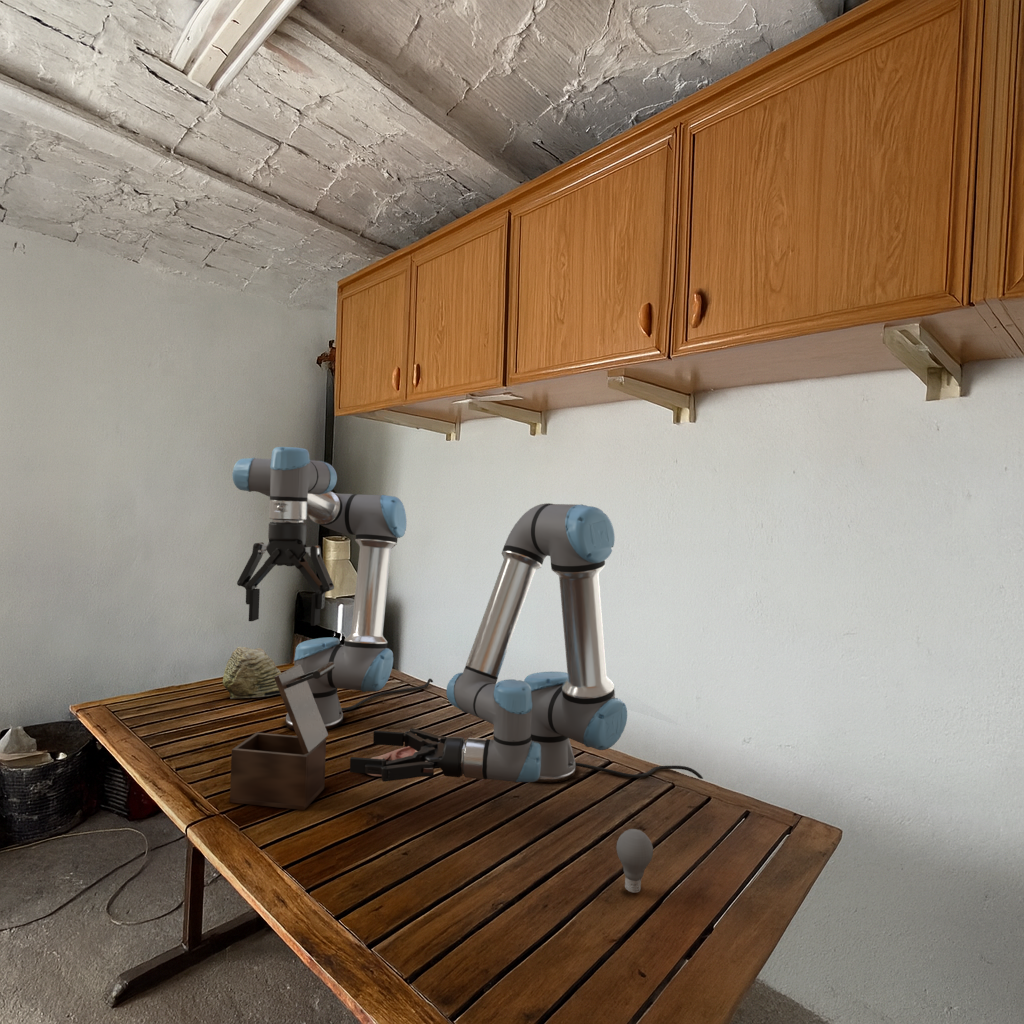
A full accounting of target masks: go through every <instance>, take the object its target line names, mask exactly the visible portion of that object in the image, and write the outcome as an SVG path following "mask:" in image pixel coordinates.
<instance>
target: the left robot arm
mask: <svg viewBox="0 0 1024 1024" xmlns="http://www.w3.org/2000/svg"><path fill="white" fill-rule="evenodd" d="M270 457H271V458H261V457H260V458H259V457H257V458H256V457H249V458H247V457H246V458H240V459H238V460H237V461H236V462H235V464H234V466H233V468H232V475H231V476H232V477H231V478H232V481H233V484H234V486H235V487H236V488H237V489H238V490H240V491H245V492H249V493H251V492H256V493H259V494H262V495H265V496H267V497H268V498H269V510H268V519H270V520H271V521H270V522H268V533H267V534H268V535H267V537H268V542H267V543H265V542H255V543H253V545H252V552H251V555H250V557H249V559H248V560H247V562H246V564H245V566H244V568H243V570H242V572H241V574H240V576H239V578H238V580H237V582H236V585H237V586H238V587H242V588H244V589H245V605H248V622H255V621H257V620H259V619H260V595H261V594H260V592H261V590H260V589H261V588H257V587H258V585H259V584H260V583H261V582H262V581H263V580H264V579H265V578H266V576H267V575H268V574H269V573H270V572H271V570H273V568H274V567H276V566H278V567H281V566H285V567H295V568H296V569H297V570H299V572H300V573H301V575H302V576H303V577H304V579H305V580H306V581H307V582H308V584H309V585H310V587H311V588H312V589H313V591H314V592H315V593H311V606H310V607H311V608H310V626H312V627H314V626H317V625H320V624H321V610H323V609H325V602H326V601H325V600H326V593H327V592H330V591H333V590H334V589H335V585H334V582H333V580H332V578H331V575H330V573H329V570H328V569H327V566H326V564H325V561H324V559H323V556H322V549H321V545H311V546H308V545H307V543H306V541H307V528H308V527H307V526H308V525H307V523H306V522H305V521H306V520H308V517H309V519H310V520H311V521H312V522H313V523H315V524H317V525H319V526H322V527H324V528H327V529H329V530H332V531H334V532H338V533H340V534H344V535H353V536H355V540H354V541H355V542H356V544H357V545H358V546H359V552H358V553H359V554H358V563H357V564H358V565H357V572H356V573H357V574H356V582H355V591H354V601H353V611H352V620H351V630H350V634H349V635H348V636H346V637H345V638H344V641H343V642H344V643H343V644H340V643H341V641H340V639H339V638H338V637H334V636H333V637H332V636H331V637H318V638H313V639H307V640H304V641H302V642H299V643H298V644H297V645H296V647H295V652H294V653H295V654H294V659H293V661H294V666H296V665H298V664H301V667H302V669H303V672H304V674H307V673H310V672H312V671H315V670H317V669H319V668H321V667H322V666H324V665H325V664H327V663H329V662H333V663H334V664H335V667H334V669H332V670H331V671H329V672H328V673H326V674H325V675H323V676H322V677H320V678H318V679H315V678H312V679H309V680H307V682H308V684H309V687H310V689H311V692H312V695H313V697H314V700H315V702H316V705H317V707H318V710H319V712H320V715H321V717H322V720H323V723H324V725H325V728H326V730H327V731H329V730H332V729H335V728H337V727H339V726H340V725H342V723H343V722H344V713H343V712H345V711H351V710H353V709H356V708H357V707H359V706H361V705H362V704H364V703H366V702H368V701H370V700H372V699H375V698H377V697H381V696H385V695H391V694H397V693H404V692H411V691H417V690H423V689H425V688H427V687H428V686H429V685H430V683H434V680H433V679H432V678H428V680H427V682H426V683H425V684H423V685H420V686H419V685H418V686H413V687H406V688H400V689H395V690H387V691H382V692H379V691H381V690H382V689H383V688H384V687H385V685H386V684H387V683H388V681H389V679H390V676H391V673H392V670H393V666H394V653H393V651H392V650H391V648H388V641H387V639H386V638H385V637H384V625H385V613H386V603H387V594H388V584H389V574H390V566H391V565H390V564H391V553H392V549H394V548H395V547H396V546H397V545H398V540H399V539H401V538H403V537H404V536H405V534H406V531H407V514H406V513H407V512H406V509H405V505H404V504H403V501H402V500H401V499H400V497H399V498H398V497H397V496H394V495H385V494H361V493H360V494H357V493H337V492H333V490H334V489H335V487H336V485H337V482H338V474H337V472H336V469H335V468H334V466H332V464H330V463H329V462H326V461H323V460H314V459H311V458H310V452H309V450H308V449H307V448H302V447H295V446H294V447H292V446H276V447H274V448H273V449H272V451H271V456H270ZM266 552H267V554H268V557H267V559H266V560H265V561H264V563H263V564H262V566H261V567H260V568H259V569H258V570H257V572H255V571H256V569H257V568H258V566H259V564H260V561H261V559H262V557H263V556H264V554H266ZM306 554H308V557H310V560H311V562H312V564H313V567H314V569H315V571H316V573H315V572H314V571H313V569H312V568H311V566H310V565H309V562H308V561H307V559H306V558H305V556H306ZM254 573H255V574H254ZM338 689H339V690H340V689H341V690H351V691H359V692H360V691H361V692H363V693H366V692H373V693H374V694H373V695H370V696H368V697H366V698H364V699H362V700H360V701H359V702H356V703H355V704H353V705H351V706H346V707H342V706H341V702H340V699H339V695H338ZM375 692H378V693H376V694H375ZM285 726H286V728H287V729H289V730H291V731H295V730H294V727H293V725H292V722H291V720H290V717H289V714H288V712H287V713H286V715H285Z"/></svg>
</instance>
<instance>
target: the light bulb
mask: <svg viewBox="0 0 1024 1024" xmlns="http://www.w3.org/2000/svg"><path fill="white" fill-rule="evenodd" d="M615 849H616V854H617V857H618V859H619V861H620V863H621V865H622V867H623V873H624V874H623V875H624V876H625V878H624V888H625V890H627V891H628V892H630V893H634V894H635V893H639V892H640V891H641V889H642V887H641V886H642V879H643V877H644V875H645V871H646V868H647V867H648V866H649V864H650V863H651V861H652V859H653V855H654V847H653V843H652V841H651V838H649V836H648V835H647V834H646V833H645V832H643V831H642V830H641V829H636V828H629V829H627V830H625V831H623V832H622V833H621V834H620V835H619V837H618V839H617V841H616V847H615Z"/></svg>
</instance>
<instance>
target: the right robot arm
mask: <svg viewBox="0 0 1024 1024" xmlns="http://www.w3.org/2000/svg"><path fill="white" fill-rule="evenodd" d="M615 538H616V537H615V529H614V525H613V523H612V521H611V519H610V518H609V516H608V514H607V513H605V512H604V511H603V510H602V509H600V508H599V507H596V506H592V505H591V506H590V505H586V504H582V503H581V504H572V503H571V504H570V503H569V504H568V503H567V504H566V503H565V504H564V503H547V502H546V503H540V504H537V505H535V506H533V507H531V508H529V509H528V510H527V511H526V512H525V513H523V515H521V517H519V519H518V520H517V522H516V523H515V524H514V525H513V527H512V528H511V530H510V532H509V533H508V535H507V538H506V541H505V543H504V545H503V548H502V550H501V555H502V558H503V561H502V563H501V566H500V569H499V572H498V574H497V577H496V580H495V583H494V586H493V589H492V592H491V594H490V597H489V599H488V602H487V605H486V608H485V611H484V614H483V616H482V619H481V622H480V624H479V627H478V630H477V632H476V635H475V639H474V641H473V643H472V647H471V649H470V652H469V654H468V658H467V660H466V663H465V667H464V669H463V671H462V672H458V673H456V674H454V675H453V676H452V678H451V679H450V680H449V681H448V683H447V686H446V693H445V694H446V698H447V700H448V702H449V704H451V706H453V707H455V708H457V709H459V710H460V711H461V712H462V713H466V714H469V715H472V716H474V717H476V718H479V719H481V720H483V721H485V722H487V723H489V724H491V725H493V739H490V738H480V737H479V738H478V737H468V738H467V739H465V738H464V737H458V736H444V735H437V734H433V733H431V732H427V731H423V730H421V729H417V728H415V727H414V728H410V729H409V730H407V731H404V732H402V731H401V732H400V731H387V730H386V731H385V730H373V733H372V734H373V736H372V737H373V740H372V743H373V745H379V746H391V747H393V746H394V747H403V746H404V747H408V746H409V747H411V748H413V749H415V750H417V751H418V752H415V753H414V754H413V755H412V756H408V757H403V758H399V759H395V760H391V761H387V762H386V760H385V759H384V758H383V759H371V758H372V757H370V758H369V757H355V756H351V757H350V758H349V773H353V774H366V775H368V774H379V775H382V776H381V782H384V783H386V782H392V781H399V780H407V779H415V778H425V777H426V778H431V777H434V776H435V769H436V770H437V769H440V770H441V772H442V774H443V776H444V777H448V778H449V777H450V778H461V777H462V776H464V777H465V779H466V778H467V779H475V780H477V781H480V780H493V781H502V782H503V781H504V782H514V783H535V782H537V783H559V782H564V781H567V780H570V779H571V778H572V777H574V776H575V774H576V768H577V767H580V768H584V769H590V770H594V771H598V772H603V773H608V774H611V775H615V776H619V777H622V778H623V777H624V778H629V779H641V778H642V779H644V778H646V777H649V776H650V775H652V774H653V773H655V772H657V771H661V770H681V771H682V770H683V771H688V772H690V773H692V774H694V775H695V776H696V777H697V778H698V779H700V780H703V779H704V777H703V776H702V775H701V773H699V772H698V770H695V769H693V768H691V767H689V766H687V765H686V766H685V765H658V766H659V767H658V766H654V767H652V768H651V769H650V770H648V771H646V772H644V773H635V774H632V773H625V772H622V771H617V770H613V769H610V768H605V767H601V766H596V765H591V764H586V763H581V762H576V759H575V754H574V751H573V747H572V744H571V740H573V741H575V742H577V743H580V744H582V745H584V746H585V747H586V748H592V749H595V750H598V751H606V750H608V749H610V748H612V747H613V746H614V745H615V744H616V743H617V742H618V741H619V740H620V738H621V737H622V735H623V734H624V731H625V728H626V726H627V721H628V707H627V706H626V703H625V702H623V700H622V699H621V698H618V697H616V691H615V684H614V682H613V681H612V679H610V678H609V676H607V665H606V652H605V640H604V639H605V638H604V625H603V614H602V612H603V611H602V602H601V587H600V575H599V574H600V573H601V572H602V570H603V569H604V568H605V567H606V560H607V559H608V558H609V557H610V556H611V554H612V553H613V549H612V548H614V547H615ZM546 557H550V568H551V571H552V572H553V573H554V574H556V575H557V576H558V580H559V592H560V602H561V605H560V606H561V613H562V614H561V615H562V627H563V638H564V639H563V640H564V649H565V662H566V672H565V671H539V672H534V673H531V674H529V675H527V676H526V677H524V680H521V679H519V680H517V679H512V678H511V679H509V678H508V679H503V680H499V681H498V679H499V676H500V672H501V669H502V667H503V664H504V661H505V659H506V655H507V653H508V650H509V647H510V644H511V641H512V639H513V635H514V632H515V630H516V627H517V624H518V621H519V619H520V615H521V612H522V610H523V607H524V604H525V601H526V598H527V595H528V593H529V590H530V588H531V584H532V581H533V579H534V576H535V573H536V571H537V570H539V569H541V568H542V566H543V564H544V561H545V559H546ZM497 681H498V682H497Z"/></svg>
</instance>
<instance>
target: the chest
mask: <svg viewBox="0 0 1024 1024" xmlns="http://www.w3.org/2000/svg"><path fill="white" fill-rule="evenodd" d="M326 753H327V738H325V739H324V740H322V741H321V742H320V743H319V744H318V745H317V746H316V747H315V748H313V749H312V750H311V751H310V752H309V753H307V754H304V753H303V750H302V748H301V745H300V743H299V740H298V737H297V735H289V734H278V733H266V732H258V731H257V732H255V733H253V734H252V735H251V736H249V737H248V738H246V739H244V741H242V742H241V743H239V744H237V746H235V747H233V748H231V755H230V756H231V759H230V760H231V762H230V785H229V787H230V789H229V803H231V804H233V803H234V804H241V805H251V806H252V805H253V806H262V807H270V808H281V809H289V810H299V811H305V810H306V809H307V808H308V807H309V806H310V805H311V804H312V802H313V801H314V800H316V798H317V797H318V796H319V795H320V794H321V793H322V792H323V791H324V790H325V783H326V782H325V780H326V756H327V755H326Z"/></svg>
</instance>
